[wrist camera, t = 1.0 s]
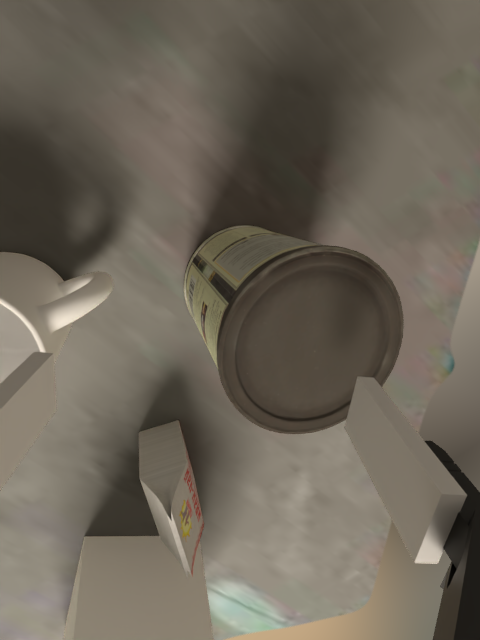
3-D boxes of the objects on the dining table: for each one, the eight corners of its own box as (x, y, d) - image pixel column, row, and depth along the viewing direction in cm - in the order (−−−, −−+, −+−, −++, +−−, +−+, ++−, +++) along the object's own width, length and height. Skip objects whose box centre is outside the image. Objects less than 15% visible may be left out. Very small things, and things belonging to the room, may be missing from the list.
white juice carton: (157, 487, 36) (164, 588, 27) (138, 431, 33) (140, 521, 24) (193, 475, 37) (213, 569, 28) (178, 419, 34) (194, 502, 25)
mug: (92, 214, 27) (69, 226, 17) (139, 313, 30) (141, 369, 21) (-77, 275, 25) (-202, 324, 16) (-9, 372, 29) (-79, 461, 19)
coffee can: (314, 306, 34) (423, 374, 21) (217, 361, 33) (269, 467, 20) (272, 200, 30) (375, 207, 17) (159, 260, 29) (179, 314, 16)
